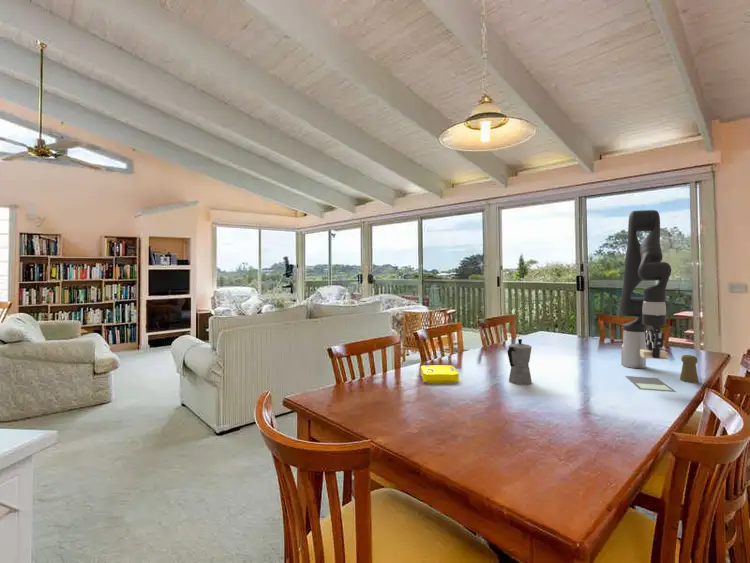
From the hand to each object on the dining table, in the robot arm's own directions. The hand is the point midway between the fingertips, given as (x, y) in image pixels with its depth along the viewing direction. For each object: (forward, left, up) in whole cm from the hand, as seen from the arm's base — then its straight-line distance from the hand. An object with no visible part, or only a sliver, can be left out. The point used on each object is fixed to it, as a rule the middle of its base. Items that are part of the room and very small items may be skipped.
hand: (653, 356), depth 153 cm
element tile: (-33, -77, -13) cm, 84 cm away
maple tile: (0, 0, 0) cm, 0 cm away
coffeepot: (-19, -46, -13) cm, 52 cm away
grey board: (-4, +3, -12) cm, 13 cm away
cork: (-4, +22, -13) cm, 25 cm away
